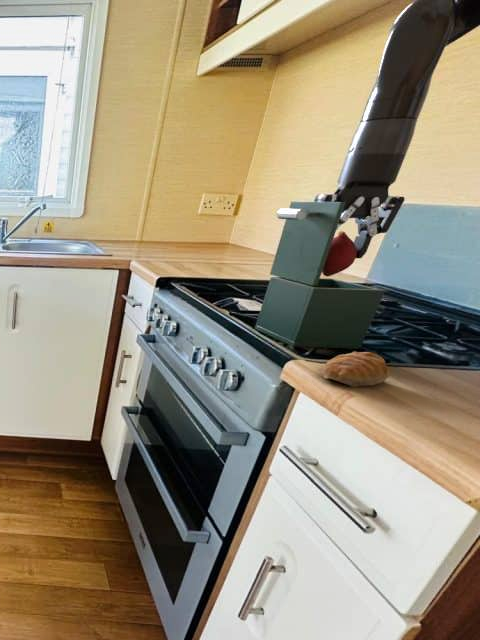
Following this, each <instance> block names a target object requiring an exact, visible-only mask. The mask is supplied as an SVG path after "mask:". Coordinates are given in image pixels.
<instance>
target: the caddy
mask: <svg viewBox="0 0 480 640" xmlns="http://www.w3.org/2000/svg"><path fill="white" fill-rule="evenodd" d="M385 292H386V290H385V289H380V288H378V287H372V286H367V285H363V284H359V283H355V282H350V281H346V280H341V279H337V278H328V277H327V278H324V277H323V278H322V277H320V279H319V282H318V285H317V286H312V285H309V284H305V283H301V282H297V281H293V280H289V279H286V278H282V277H278V276H271V277H270V279H269V282H268V285H267V289H266V291H265V295H264V298H263V301H262V305H261V308H260V310H259V313H258V317H257V320H256V323H255V326H254V330H257V331H258V332H261V333H263V334H265V335H267V336H269V337H271V338H274V339H276V340H278V341H280V342H282V343H284V344H286V345H288V346H291V347H294V348H295V347H296V348H327V349H329V348H331V349H360V350H361V347H362V345H363V343H364V340H365V339H366V337H367V334H368V331H369V329H370V327H371V325H372V323H373V320H374V317H375V315H376V313H377V310H378V308H379V306H380V303H381V301H382V299H383V297H384V295H385Z"/></svg>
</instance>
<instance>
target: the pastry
mask: <svg viewBox="0 0 480 640" xmlns="http://www.w3.org/2000/svg"><path fill="white" fill-rule="evenodd" d="M322 376H323V378H324V379H329V380H334V381H337V382H339V383H342V384H345V385H348V386H350V387H355V388H356V387H368V386H369V387H370V386H374V385H377V384H382V382H383V381H385V380H387V379H388V378H390V376H391V373H390V372H389V368H388V365H387V364H386V361H385V359H384V358H383V357H382V356H380V355H378V354H377V353H374V352H370V351H362V352H361V351H360V352H359V351H355V350H354V351H352V352H350V353H345V354H344V353H343V354H339V355H336V356H335V357H333V358H331V359H329V360H328V361H327V362H326V364H325V366H324V369H323V372H322Z"/></svg>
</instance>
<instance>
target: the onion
mask: <svg viewBox="0 0 480 640" xmlns="http://www.w3.org/2000/svg"><path fill="white" fill-rule="evenodd" d="M356 255H357V249H356V246H355V244H354V241H353V240H352V239H351V237H349V236H348V234H346V231H343V230H340V231H338V233H337V235H336V236H334V238H333V241H332V244H331V247H330V250H329V253H328V255H327V258H326V261H325V264H324V267H323V270H322V273H321V275H323V276H325V277H331V276H333V275H336V274H338V273H341V272H342V271H343V272H344V271H345V270H347V269H349V268H350V267H351V266H352V265H353V264H354V262H355V260H356V259H357V258H356Z"/></svg>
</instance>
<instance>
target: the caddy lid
mask: <svg viewBox="0 0 480 640" xmlns="http://www.w3.org/2000/svg"><path fill="white" fill-rule="evenodd" d="M345 203H346V202H314V201H299V200H298V201H297V200H296V201H293V200H292V201H290V204H289V207H283V208H279V210H278V211H277V213H276V217H277V218H278V219H279V220H284V221H285V222H284V224H283V228H282V232H281V235H280V238H279V242H278V244H277V248H276V253H275V255H274V258H273V262H272V266H271V269H270V273H269V275H270V276H273V277H282V278H286V279H289V280H293V281H297V282H301V283H305V284H309V285H312V286H317V285H318V282H319V279H320V278H321V275H322V270H323V267H324V264H325V261H326V258H327V255H328V253H329V250H330V247H331V244H332V241H333V238H335V235H336V232H337V230H338V229H337V226H338V223H339V220H340V217H341V215H342V212H343V209H344V206H345ZM336 229H337V230H336Z"/></svg>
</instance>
